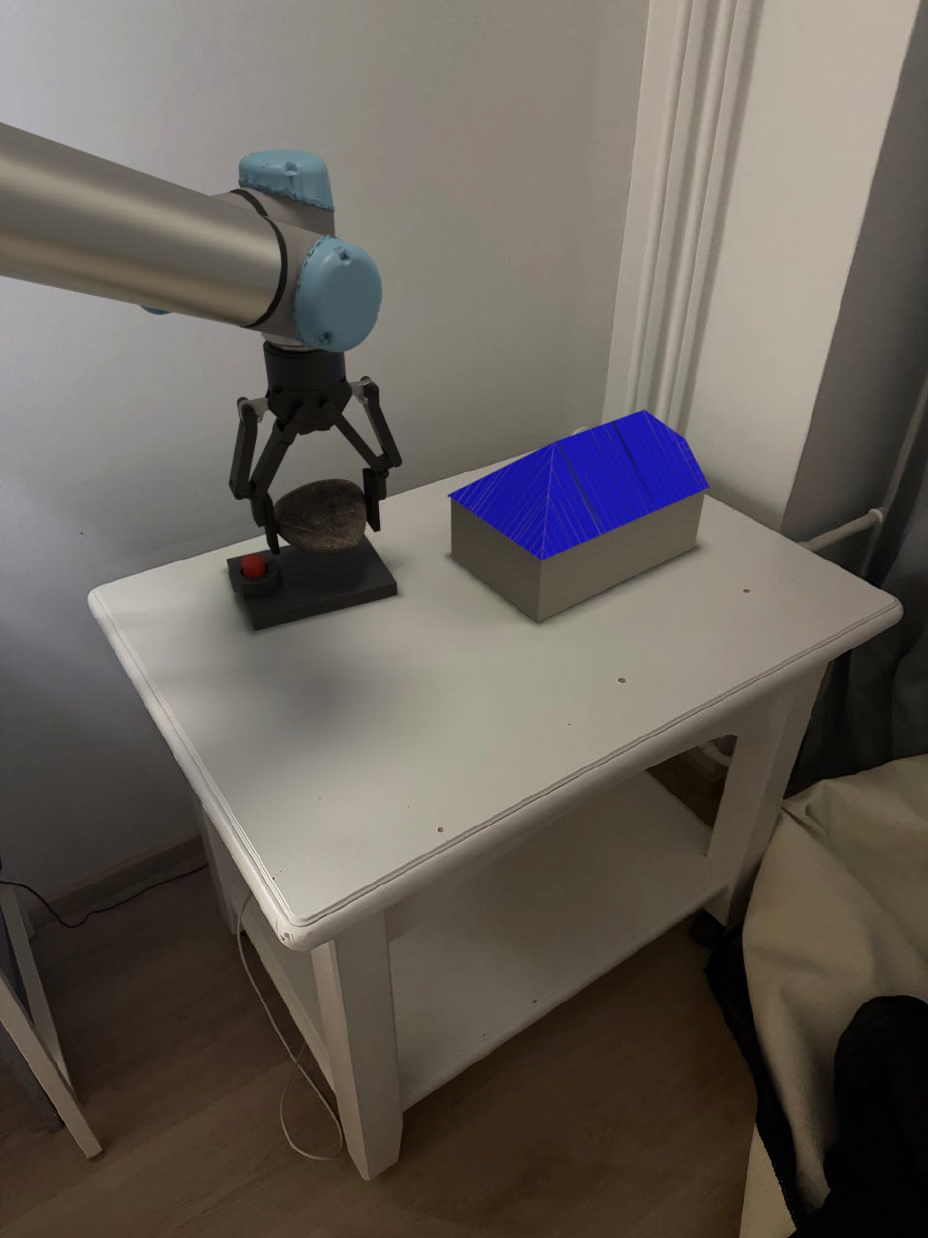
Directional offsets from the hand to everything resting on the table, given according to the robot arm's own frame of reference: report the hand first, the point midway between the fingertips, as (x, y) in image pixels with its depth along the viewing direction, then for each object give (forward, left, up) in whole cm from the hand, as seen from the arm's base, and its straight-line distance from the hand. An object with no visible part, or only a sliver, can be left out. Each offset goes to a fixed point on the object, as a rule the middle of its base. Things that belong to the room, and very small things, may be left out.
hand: (324, 536), depth 97 cm
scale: (-2, 0, -6) cm, 6 cm away
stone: (0, 0, -1) cm, 1 cm away
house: (+28, -6, -6) cm, 29 cm away
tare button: (-8, 0, -2) cm, 8 cm away
